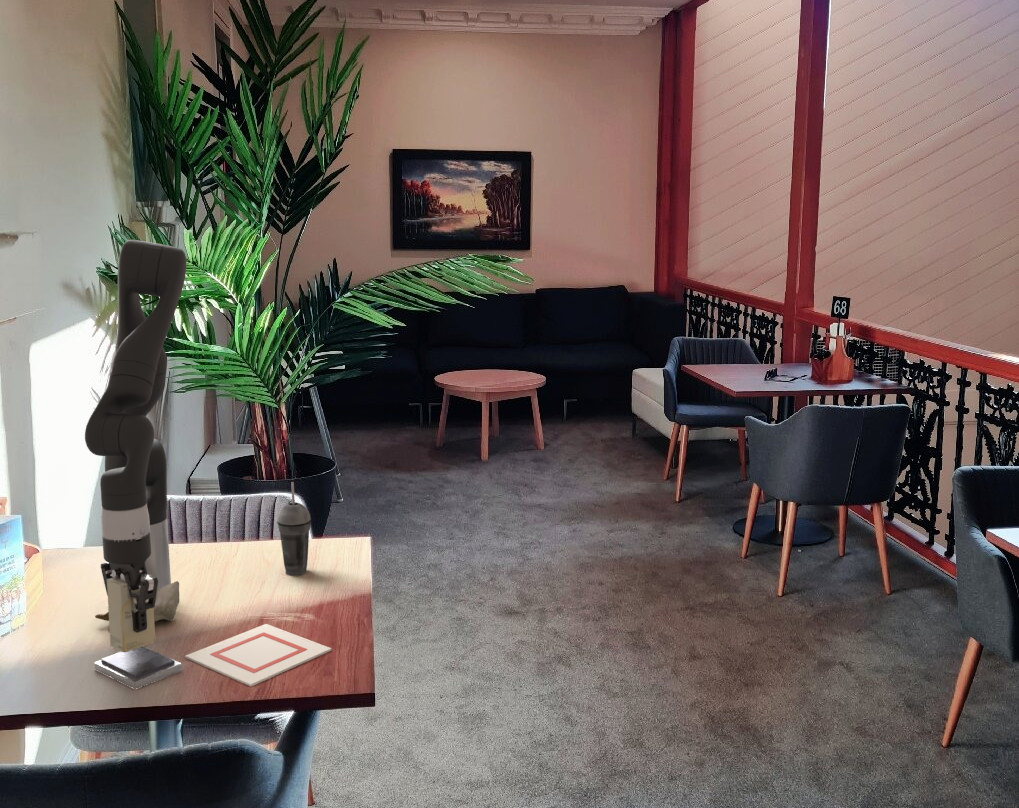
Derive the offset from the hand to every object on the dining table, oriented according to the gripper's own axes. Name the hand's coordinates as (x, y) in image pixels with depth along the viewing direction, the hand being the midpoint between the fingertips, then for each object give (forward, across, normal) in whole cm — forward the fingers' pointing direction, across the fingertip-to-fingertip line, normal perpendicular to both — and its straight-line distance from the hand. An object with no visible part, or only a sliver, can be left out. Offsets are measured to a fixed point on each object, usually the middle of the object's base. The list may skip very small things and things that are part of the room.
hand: (132, 626), depth 175 cm
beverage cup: (+9, -16, +49) cm, 52 cm away
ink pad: (+8, +1, 0) cm, 8 cm away
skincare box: (+3, 0, 0) cm, 3 cm away
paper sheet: (+8, +11, +17) cm, 22 cm away
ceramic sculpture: (+9, -16, +12) cm, 22 cm away
